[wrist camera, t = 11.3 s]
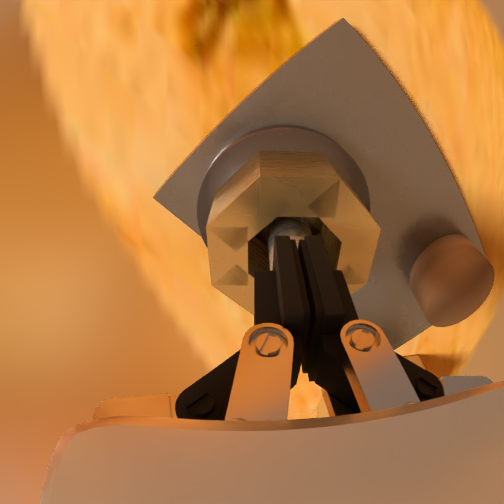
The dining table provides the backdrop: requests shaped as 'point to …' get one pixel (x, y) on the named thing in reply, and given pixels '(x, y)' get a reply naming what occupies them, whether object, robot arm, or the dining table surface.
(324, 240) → the collar
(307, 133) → the hub
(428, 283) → the brown rounded dome
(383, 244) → the plate
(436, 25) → the dining table surface
